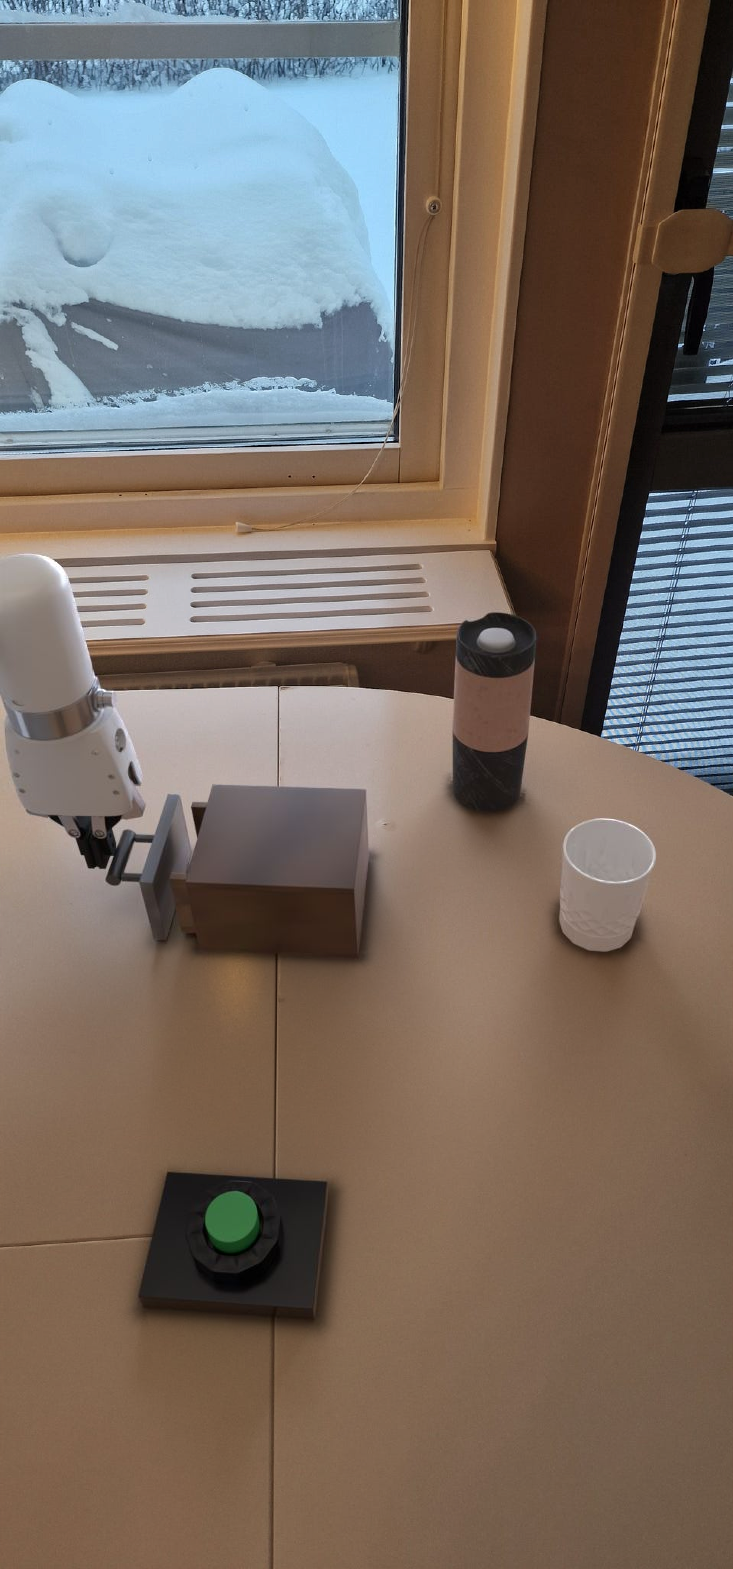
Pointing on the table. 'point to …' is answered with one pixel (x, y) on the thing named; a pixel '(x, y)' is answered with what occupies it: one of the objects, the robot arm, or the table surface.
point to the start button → (232, 1222)
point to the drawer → (162, 867)
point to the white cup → (603, 882)
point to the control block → (244, 1282)
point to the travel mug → (491, 709)
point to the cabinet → (280, 871)
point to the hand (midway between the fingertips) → (101, 857)
